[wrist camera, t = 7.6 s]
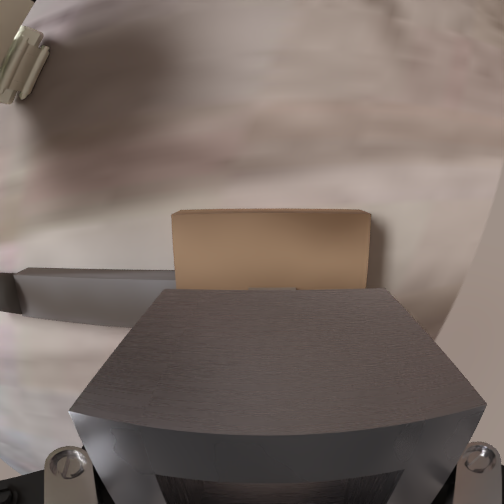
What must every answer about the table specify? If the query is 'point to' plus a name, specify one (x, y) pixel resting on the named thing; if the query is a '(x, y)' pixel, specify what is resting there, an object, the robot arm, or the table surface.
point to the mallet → (206, 264)
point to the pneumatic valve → (18, 51)
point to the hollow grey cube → (276, 402)
